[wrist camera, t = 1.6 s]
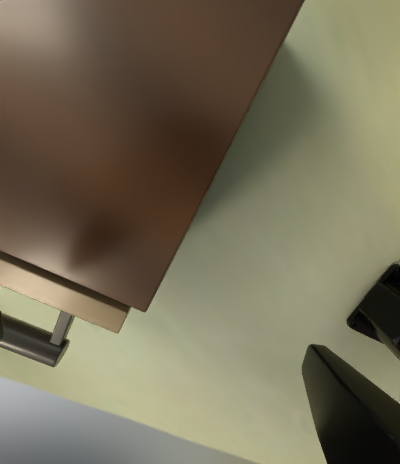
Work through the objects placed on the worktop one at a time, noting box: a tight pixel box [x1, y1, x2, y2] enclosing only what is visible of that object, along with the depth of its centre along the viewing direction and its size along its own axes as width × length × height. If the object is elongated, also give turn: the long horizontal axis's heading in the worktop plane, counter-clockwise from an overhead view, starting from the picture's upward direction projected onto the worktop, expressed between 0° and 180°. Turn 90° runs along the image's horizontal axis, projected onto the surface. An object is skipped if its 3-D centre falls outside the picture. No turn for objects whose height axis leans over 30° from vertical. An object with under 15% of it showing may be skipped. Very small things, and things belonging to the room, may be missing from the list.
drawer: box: [0, 251, 131, 367], centre depth 13 cm, size 18×11×9 cm, turn 153°
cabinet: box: [0, 0, 305, 312], centre depth 12 cm, size 15×13×11 cm
